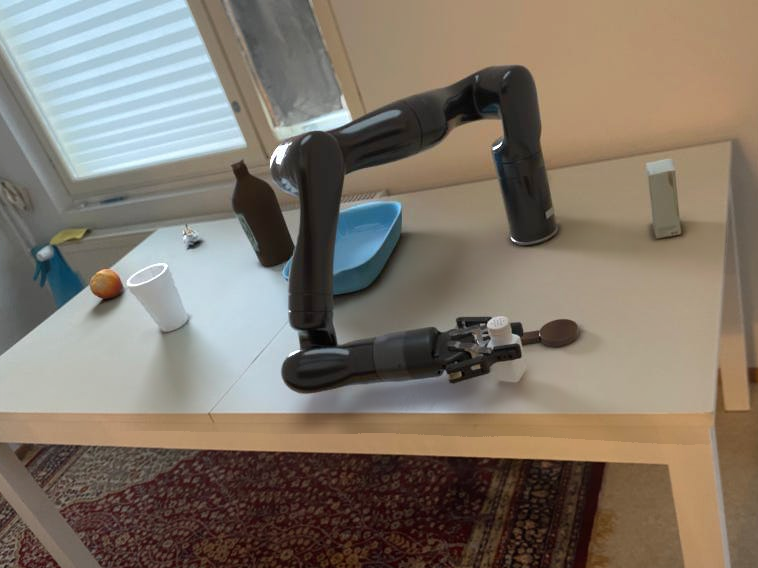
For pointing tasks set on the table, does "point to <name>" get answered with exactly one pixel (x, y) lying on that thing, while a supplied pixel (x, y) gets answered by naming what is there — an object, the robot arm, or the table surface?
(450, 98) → the robot arm
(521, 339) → the wooden spoon
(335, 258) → the casserole dish
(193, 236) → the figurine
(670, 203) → the cosmetic box
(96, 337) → the table surface
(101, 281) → the fruit
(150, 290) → the foam cup
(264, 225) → the olive oil
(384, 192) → the table surface
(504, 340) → the salt shaker
